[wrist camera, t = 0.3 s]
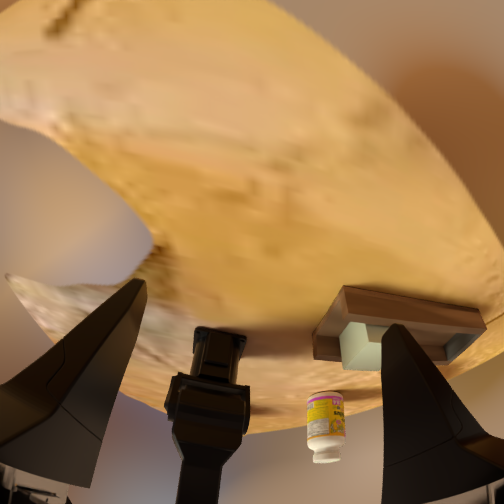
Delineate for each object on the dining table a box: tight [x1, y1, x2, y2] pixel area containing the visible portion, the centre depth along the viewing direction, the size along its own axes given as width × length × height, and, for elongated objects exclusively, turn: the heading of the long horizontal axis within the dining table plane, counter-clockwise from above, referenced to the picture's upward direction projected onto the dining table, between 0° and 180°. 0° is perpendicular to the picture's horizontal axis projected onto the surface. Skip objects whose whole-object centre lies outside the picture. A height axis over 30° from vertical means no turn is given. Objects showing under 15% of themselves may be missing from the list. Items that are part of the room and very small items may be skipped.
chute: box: [312, 286, 487, 365], centre depth 30 cm, size 9×22×4 cm, turn 78°
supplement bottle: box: [307, 391, 346, 463], centre depth 42 cm, size 7×7×13 cm
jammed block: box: [339, 322, 389, 371], centre depth 29 cm, size 6×5×4 cm
